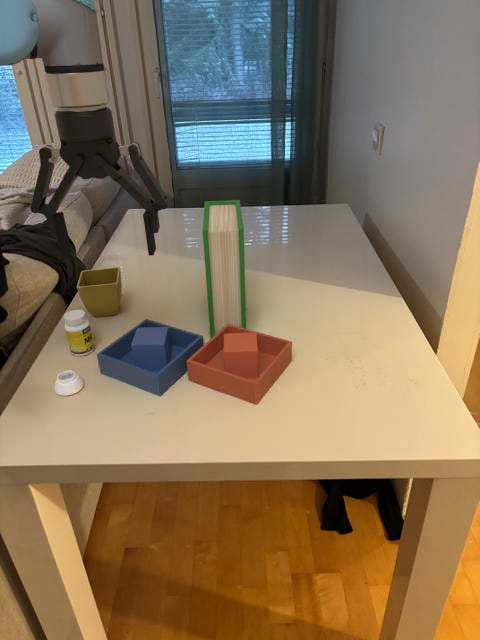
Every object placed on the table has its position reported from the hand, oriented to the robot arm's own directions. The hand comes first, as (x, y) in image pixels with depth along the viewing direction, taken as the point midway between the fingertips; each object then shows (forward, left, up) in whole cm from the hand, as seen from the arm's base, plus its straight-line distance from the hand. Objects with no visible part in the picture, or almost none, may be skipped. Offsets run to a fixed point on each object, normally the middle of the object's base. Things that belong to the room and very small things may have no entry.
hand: (109, 253), depth 74 cm
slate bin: (+1, +5, -25) cm, 25 cm away
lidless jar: (-8, -8, -25) cm, 27 cm away
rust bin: (+17, +11, -25) cm, 32 cm away
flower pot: (-22, +16, -25) cm, 37 cm away
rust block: (+17, +11, -24) cm, 32 cm away
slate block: (+1, +5, -24) cm, 25 cm away
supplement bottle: (-15, +2, -25) cm, 29 cm away
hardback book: (+5, +26, -25) cm, 36 cm away
